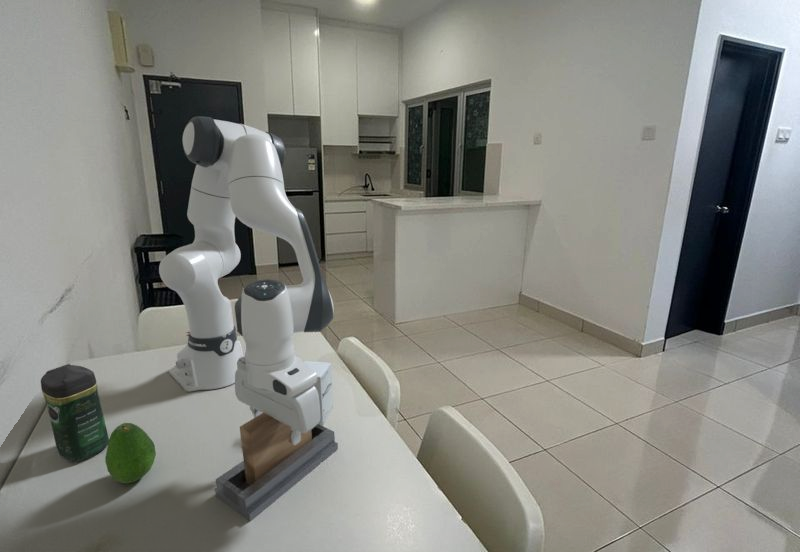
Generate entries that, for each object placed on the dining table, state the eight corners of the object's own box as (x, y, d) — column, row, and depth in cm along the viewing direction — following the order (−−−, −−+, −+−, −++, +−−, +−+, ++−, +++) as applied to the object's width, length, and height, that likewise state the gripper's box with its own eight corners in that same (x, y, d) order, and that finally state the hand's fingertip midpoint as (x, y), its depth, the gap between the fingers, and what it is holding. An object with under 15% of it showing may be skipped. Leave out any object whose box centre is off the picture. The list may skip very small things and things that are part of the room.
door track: (215, 495, 76) (213, 477, 75) (304, 432, 93) (303, 417, 92) (250, 521, 70) (248, 502, 69) (337, 449, 88) (337, 433, 87)
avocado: (108, 499, 75) (95, 442, 72) (113, 471, 82) (102, 418, 78) (158, 484, 78) (148, 429, 75) (160, 458, 85) (150, 407, 82)
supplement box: (323, 426, 95) (320, 377, 92) (293, 422, 97) (289, 374, 94) (334, 408, 102) (332, 362, 99) (306, 405, 104) (303, 359, 100)
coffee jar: (117, 445, 89) (100, 367, 84) (74, 468, 82) (53, 385, 77) (93, 431, 94) (76, 357, 89) (52, 452, 87) (31, 372, 82)
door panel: (246, 482, 77) (239, 426, 74) (302, 441, 88) (298, 391, 85) (256, 489, 75) (250, 432, 72) (312, 446, 86) (309, 396, 83)
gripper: (222, 360, 79) (230, 423, 83) (297, 392, 68) (302, 463, 72) (250, 348, 84) (256, 408, 88) (324, 376, 73) (327, 443, 77)
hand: (277, 433), depth 79 cm, fingers open, 8 cm apart
